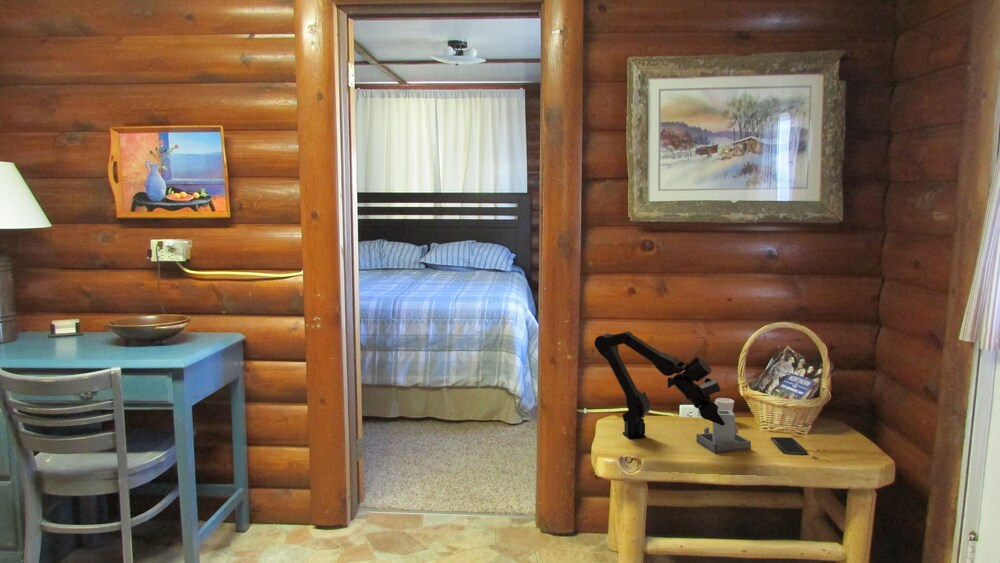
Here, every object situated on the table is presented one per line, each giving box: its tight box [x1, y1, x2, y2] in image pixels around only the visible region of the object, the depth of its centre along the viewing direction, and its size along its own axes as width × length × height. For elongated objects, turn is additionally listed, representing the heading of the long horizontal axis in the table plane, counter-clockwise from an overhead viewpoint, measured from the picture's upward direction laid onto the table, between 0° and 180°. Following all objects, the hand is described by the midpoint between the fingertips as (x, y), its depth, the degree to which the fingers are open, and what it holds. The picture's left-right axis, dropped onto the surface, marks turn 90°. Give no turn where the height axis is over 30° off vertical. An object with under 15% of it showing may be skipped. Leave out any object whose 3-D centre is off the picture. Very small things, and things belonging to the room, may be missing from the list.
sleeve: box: [712, 410, 739, 444], centre depth 223 cm, size 8×6×11 cm
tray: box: [695, 432, 752, 454], centre depth 223 cm, size 14×12×3 cm
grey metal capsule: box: [703, 426, 710, 434], centre depth 234 cm, size 2×2×3 cm
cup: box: [714, 397, 735, 412], centre depth 251 cm, size 7×10×8 cm
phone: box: [770, 436, 808, 456], centre depth 222 cm, size 8×1×15 cm
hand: (720, 420), depth 223 cm, fingers open, 9 cm apart
